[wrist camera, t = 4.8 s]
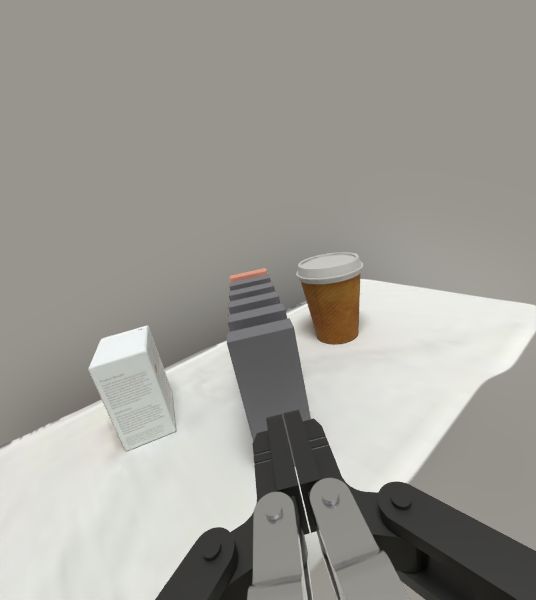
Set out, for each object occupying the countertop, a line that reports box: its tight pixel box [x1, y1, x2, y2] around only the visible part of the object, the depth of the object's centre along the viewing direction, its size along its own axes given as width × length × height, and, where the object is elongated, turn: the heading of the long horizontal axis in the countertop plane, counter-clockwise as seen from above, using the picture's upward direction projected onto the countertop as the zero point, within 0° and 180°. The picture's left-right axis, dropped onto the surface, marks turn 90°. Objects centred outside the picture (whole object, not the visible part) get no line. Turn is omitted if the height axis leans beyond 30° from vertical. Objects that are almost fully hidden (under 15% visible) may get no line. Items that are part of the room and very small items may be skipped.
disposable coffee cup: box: [296, 252, 363, 344], centre depth 45 cm, size 10×10×12 cm
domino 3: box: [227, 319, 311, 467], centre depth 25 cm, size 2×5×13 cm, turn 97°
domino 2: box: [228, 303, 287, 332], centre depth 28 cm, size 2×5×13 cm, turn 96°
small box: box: [88, 326, 176, 451], centre depth 34 cm, size 8×6×10 cm
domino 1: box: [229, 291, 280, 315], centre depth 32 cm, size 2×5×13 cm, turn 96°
